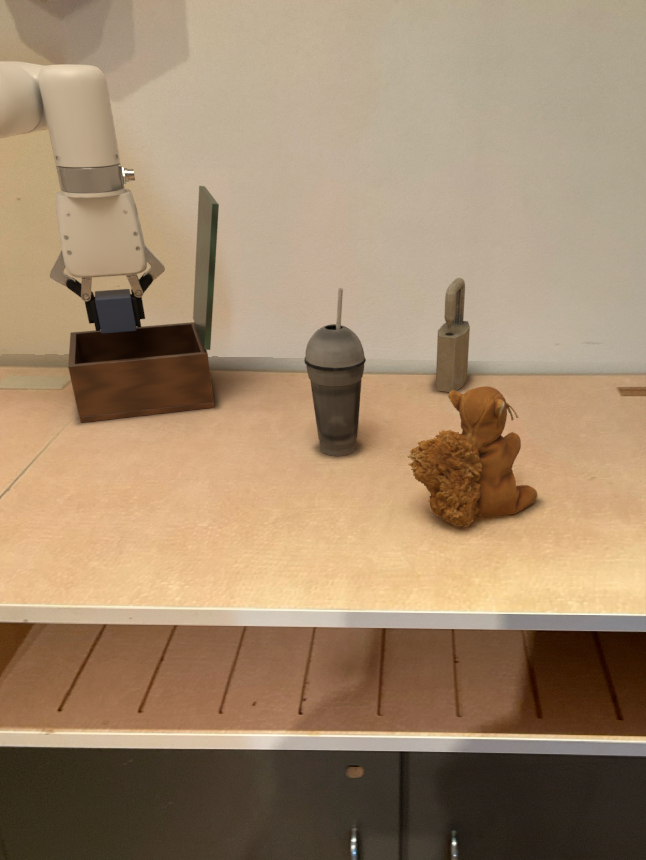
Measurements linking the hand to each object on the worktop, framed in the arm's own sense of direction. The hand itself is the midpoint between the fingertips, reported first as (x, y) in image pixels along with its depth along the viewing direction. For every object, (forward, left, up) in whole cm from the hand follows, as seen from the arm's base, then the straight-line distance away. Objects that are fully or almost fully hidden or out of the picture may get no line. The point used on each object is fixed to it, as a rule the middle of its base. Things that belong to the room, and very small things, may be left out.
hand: (118, 324), depth 107 cm
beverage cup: (+24, -25, -11) cm, 36 cm away
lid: (+12, 0, +7) cm, 14 cm away
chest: (+2, 0, -10) cm, 11 cm away
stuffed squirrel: (+34, -44, -11) cm, 57 cm away
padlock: (+46, -8, -11) cm, 48 cm away
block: (0, 0, 0) cm, 0 cm away
